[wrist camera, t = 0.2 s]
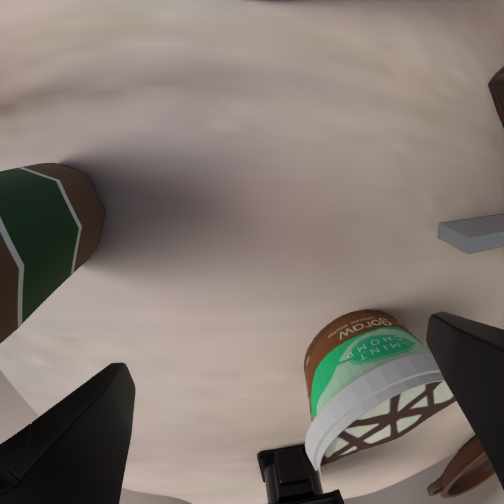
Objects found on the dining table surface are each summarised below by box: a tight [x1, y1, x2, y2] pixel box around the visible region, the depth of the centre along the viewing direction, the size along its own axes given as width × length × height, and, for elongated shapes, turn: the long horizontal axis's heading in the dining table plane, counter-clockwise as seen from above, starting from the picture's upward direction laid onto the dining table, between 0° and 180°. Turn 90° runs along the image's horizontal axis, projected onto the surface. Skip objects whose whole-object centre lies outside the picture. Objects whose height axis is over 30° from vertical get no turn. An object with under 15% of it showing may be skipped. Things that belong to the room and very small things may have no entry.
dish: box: [427, 436, 495, 498], centre depth 34 cm, size 18×22×5 cm
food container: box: [304, 310, 456, 477], centre depth 20 cm, size 12×6×10 cm, turn 113°
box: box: [438, 214, 504, 254], centre depth 23 cm, size 16×15×4 cm
